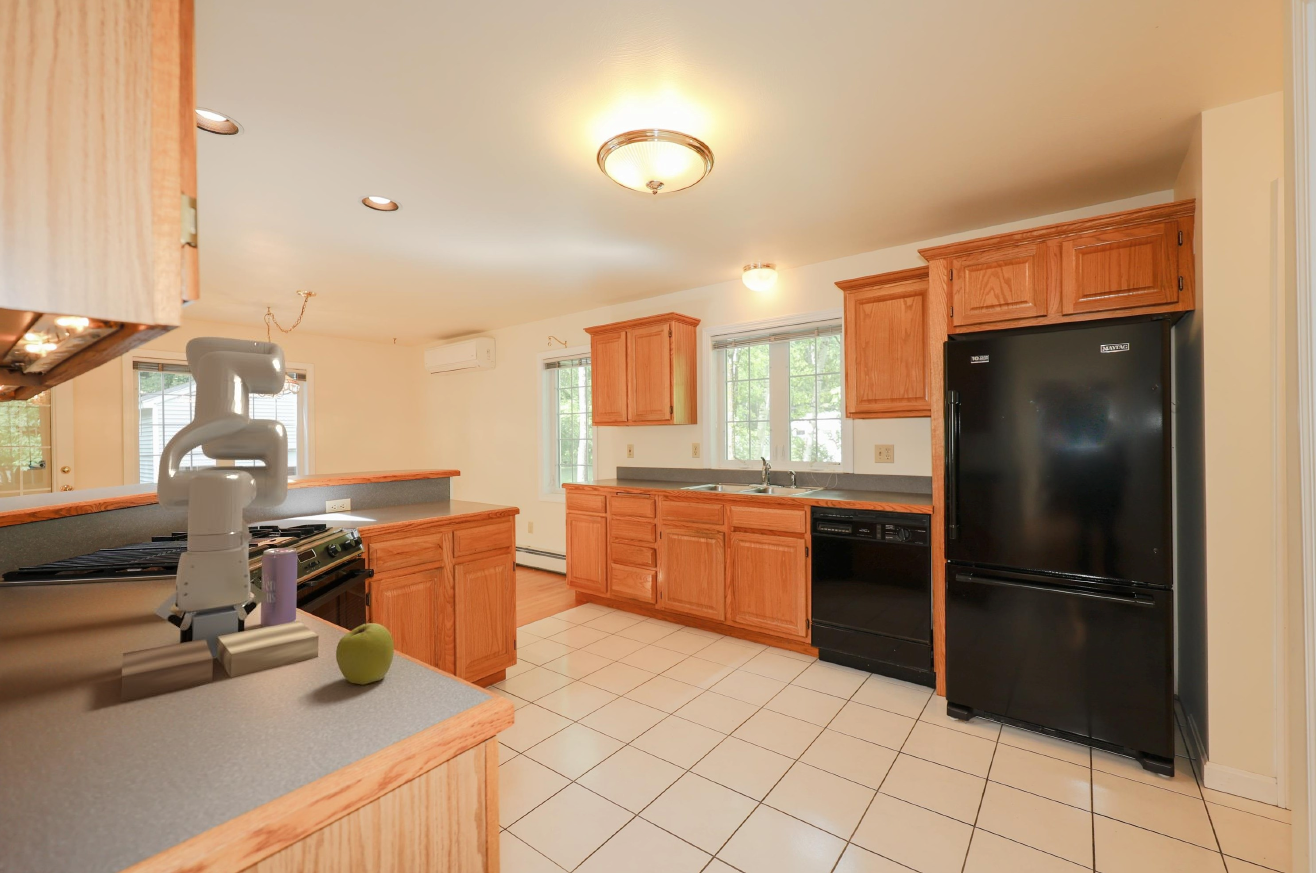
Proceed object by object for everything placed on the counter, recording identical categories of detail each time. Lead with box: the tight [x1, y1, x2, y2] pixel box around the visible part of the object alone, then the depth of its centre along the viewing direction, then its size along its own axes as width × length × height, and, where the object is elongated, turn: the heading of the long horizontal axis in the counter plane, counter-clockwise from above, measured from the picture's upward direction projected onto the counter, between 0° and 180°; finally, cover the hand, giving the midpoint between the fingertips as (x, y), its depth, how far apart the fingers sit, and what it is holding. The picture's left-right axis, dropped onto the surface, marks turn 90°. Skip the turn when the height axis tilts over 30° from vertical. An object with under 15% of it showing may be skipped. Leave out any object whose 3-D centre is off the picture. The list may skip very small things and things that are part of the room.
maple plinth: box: [216, 620, 320, 678], centre depth 96 cm, size 12×12×4 cm
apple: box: [335, 617, 395, 685], centre depth 86 cm, size 8×8×10 cm
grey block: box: [191, 606, 238, 658], centre depth 98 cm, size 6×6×7 cm
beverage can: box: [260, 547, 298, 628], centre depth 114 cm, size 6×6×15 cm
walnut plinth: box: [120, 639, 214, 703], centre depth 86 cm, size 12×10×4 cm
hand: (212, 645), depth 98 cm, fingers closed on grey block, 6 cm apart
